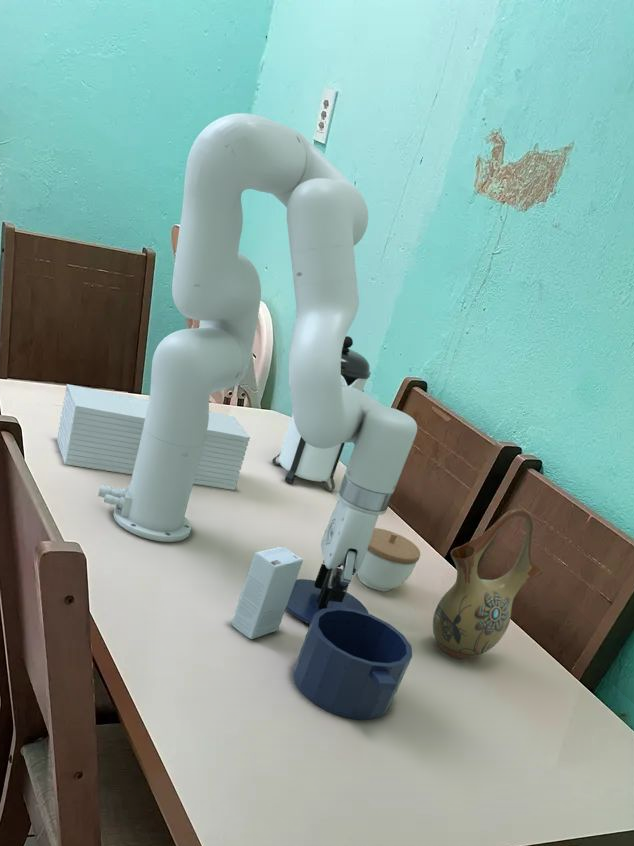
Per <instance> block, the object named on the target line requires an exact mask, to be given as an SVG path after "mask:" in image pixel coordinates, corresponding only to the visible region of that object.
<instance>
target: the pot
mask: <svg viewBox="0 0 634 846" xmlns="http://www.w3.org/2000/svg"><path fill="white" fill-rule="evenodd" d="M368 613H369V612H368ZM368 613H365V612H362V611H358V610H355V609H349V608H347V607H346V605H345V604H344V603H342V602H334V601H329V602H328V604H327V608H326V609H321V610H320V611H319V612H317V613H316V614H315V615H314V616H313V618H312V621H311V624H309V627H308V629H307V632H306V634H305V637H304V641H303V643H302V645H301V648H300V651H299V654H298V656H297V659H296V661H295V665H294V669H293V675H292V677H293V681H294V683H295V685H296V687H297V689H298V691H300V693H301V694H302V695H303V696H304V697H305V698H306V699H307V700H309V701H310V702H311V703H313V704H314V705H315V706H317V707H319V708H321V709H323V710H325V711H326V712H329V713H332V714H334V715H336V716H339V717H342V718H346V719H347V718H348V719H352V720H372V719H377V718H379V717H381V716H383V715H384V714H385V713H386V712H387V711H388V709H389V708H390V706H392V702H393V701H394V698H395V697H396V694H397V691H398V690H399V688H400V686H401V682H402V680H403V678H404V676H405V674H406V671H407V670H408V668H409V665H410V663H411V660H412V658H413V649H412V645H411V644H410V642H409V640H408V639H407V638H406V636H405V635H404V634H403V633H402V632H401V631H400V630H398V629H397V628H396V627H394V626H393V625H392V624H390V623H389V622H387V621H385V620H383V619H381V618H379V617H378V616H375V615H373V614H371V613H369V614H368Z"/></svg>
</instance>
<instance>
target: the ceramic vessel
mask: <svg viewBox="0 0 634 846" xmlns="http://www.w3.org/2000/svg"><path fill="white" fill-rule="evenodd" d="M517 517H519V518H523V519H524V520H525V522H526V523H525V524H526V525H525V533H524V538H523V542H522V546H521V549H520V552H519V553H518V556H517V559H516V561H515V563H514V564H513V565H512V567H511V568H510V570H509V571H507V573H505V574H504V575H502V576H500V577H498V578H495V579H486V578H485V579H483V578H480V577H479V574H478V565H479V562H480V559H481V558H482V555H483V554H484V553H485V550H487V548H488V546H489V545H490V544H491V542H492V540H493V539H494V538H495V537H496V535H497V534H498V533H499V531H500V530H501V529H502V528H503V526H505V525H506V523H507V522H509V520H511V519H513V518H517ZM534 529H535V520H534V517H533V515H532V513H531V512H530V511H528V510H525V509H524V508H515V509H511V510H509V511H507V512H505V513H503V515H501V516H500V517H499V518H498V519H497V520H496V522H494V523H493V524H492V525H491V526H490V527H489V528H488V529H486V531H484V532H482V533H481V534H480V535H478V536H477V537H475V538H473V539H471V540H470V541H468V542H466V543H463V544H462V545H460V546H455V547H454V548H453V549H451V550H450V553H449V555H450V558H451V559H452V561H453V563H454V566H455V568H456V578H455V579H456V580H455V582H454V584H453V585H452V586H451V587H450V588H449V589H448V590H447V591H446V592H445V593H444V595H443V596H442V597H441V598H440V599H439V602H438V604H437V606H436V608H435V611H434V613H433V618H432V632H433V637H434V639H435V642H436V644H437V645H438V647H439V648H440V650H442V651H443V653H445V654H447V655H449V656H451V657H454V658H456V659H465V660H466V659H472V658H475V657H478V656H481V655H483V654H485V653H486V652H488V651H490V650H491V649H493V647H495V646H496V645H497V644H498V643H499V641H501V639H502V638H503V636H505V634H506V631H507V630H508V627H509V625H510V622H511V618H512V610H513V602H514V599H515V597H516V596H517V594H518V592H519V591H520V590H521V589H522V587H523V586H524V585H525V584H527V583H528V582H530V581H532V580H533V579H535V578H536V577H538V576H541V575H542V574H544V573H545V572H544V570H543V569H542V568H541V567H540V566H539V565H537V564H536V562H534V560H533V559H532V545H533V537H534Z"/></svg>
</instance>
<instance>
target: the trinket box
mask: <svg viewBox="0 0 634 846" xmlns="http://www.w3.org/2000/svg"><path fill="white" fill-rule="evenodd" d="M420 557H421V551H420V549H419V547H418V546H417V545H416V544H415V543H414V542H412V541H411V540H410V539H408V538H406V537H405V536H403V535H401V534H398V533H396V532H393V531H391V530H387V529H384V528H379V527H375V529H374V531H373V534H372V537H371V540H370V543H369V546H368V549H367V552H366V554H365V557H364V560H363V562H362V565H361V567H360V569H359V571H358V573H357V574H356V575H358V580H359V582H361V584H363V585H364V586H366V587H368V588H369V589H372V590H375V591H379V592H389V591H391V590H392V589H395V588H398V587H399V586H401V585H402V584H404V583H405V582H406V581H407V580H408V579H409V577H410V576H411V575H412V573H413V571H414V569H415V568H416V565H417V562H418V561H419V559H420Z"/></svg>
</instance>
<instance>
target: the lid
mask: <svg viewBox="0 0 634 846" xmlns="http://www.w3.org/2000/svg"><path fill="white" fill-rule="evenodd" d="M331 572H332V569H329V570H328V573H327V576H326V578H325V581H324V584H323V586H322V589H319V588H316V587H315V585H314V584H315V581H316V579H315V580H314V579H307V578H299V579H296V581H295V584H294V587H293V590H292V592H291V595H290V598H289V601H288V604H287V606H286V609H285V610H286V611H288V612H289V613H290V614H292V616H294V617H295V618H297V619H299V620H300V621H302V622H304V623H306V624H308V625H310V624H311V621H312V618H313V616H314V615H315V614H316V613H317V612H319V611H320V609H318V604H319V601H320V599H321V596H322V593H323V591H324V588H325V585H328V583H329V579H330V576H331ZM341 575H342V574H341V573H336V577H335V579H337V578H338V577H339V578H340V576H341ZM342 603H344V604H345V605H346V607H347V608H349V609H355V610H358V611H362V612H365V613H368V614H370V613H369V611H368V609H367V607H366V606H365V605H364V604H363V603H362V602H361V601H360V600H359V599H358V598H357V597H355V596H354V595H352V594H351V593H349V592H346V594H345V596H344V599H343V601H342Z"/></svg>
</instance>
